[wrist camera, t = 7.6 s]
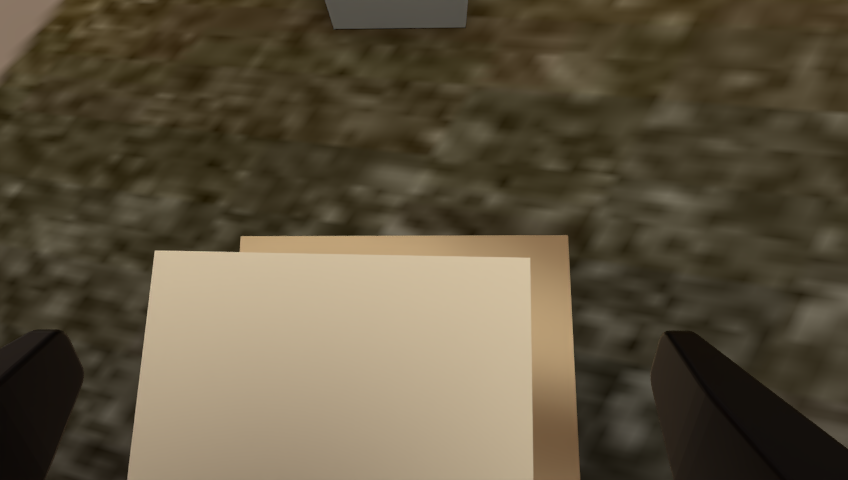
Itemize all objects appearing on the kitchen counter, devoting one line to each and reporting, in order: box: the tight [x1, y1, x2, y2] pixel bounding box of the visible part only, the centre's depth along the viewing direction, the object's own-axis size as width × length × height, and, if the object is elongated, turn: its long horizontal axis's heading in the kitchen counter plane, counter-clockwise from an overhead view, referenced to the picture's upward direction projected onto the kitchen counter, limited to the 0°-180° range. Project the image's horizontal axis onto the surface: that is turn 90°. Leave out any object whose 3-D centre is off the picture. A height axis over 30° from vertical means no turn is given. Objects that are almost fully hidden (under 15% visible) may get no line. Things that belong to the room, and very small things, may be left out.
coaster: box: [240, 235, 580, 480], centre depth 19 cm, size 11×11×1 cm
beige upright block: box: [127, 251, 533, 480], centre depth 12 cm, size 5×4×13 cm
